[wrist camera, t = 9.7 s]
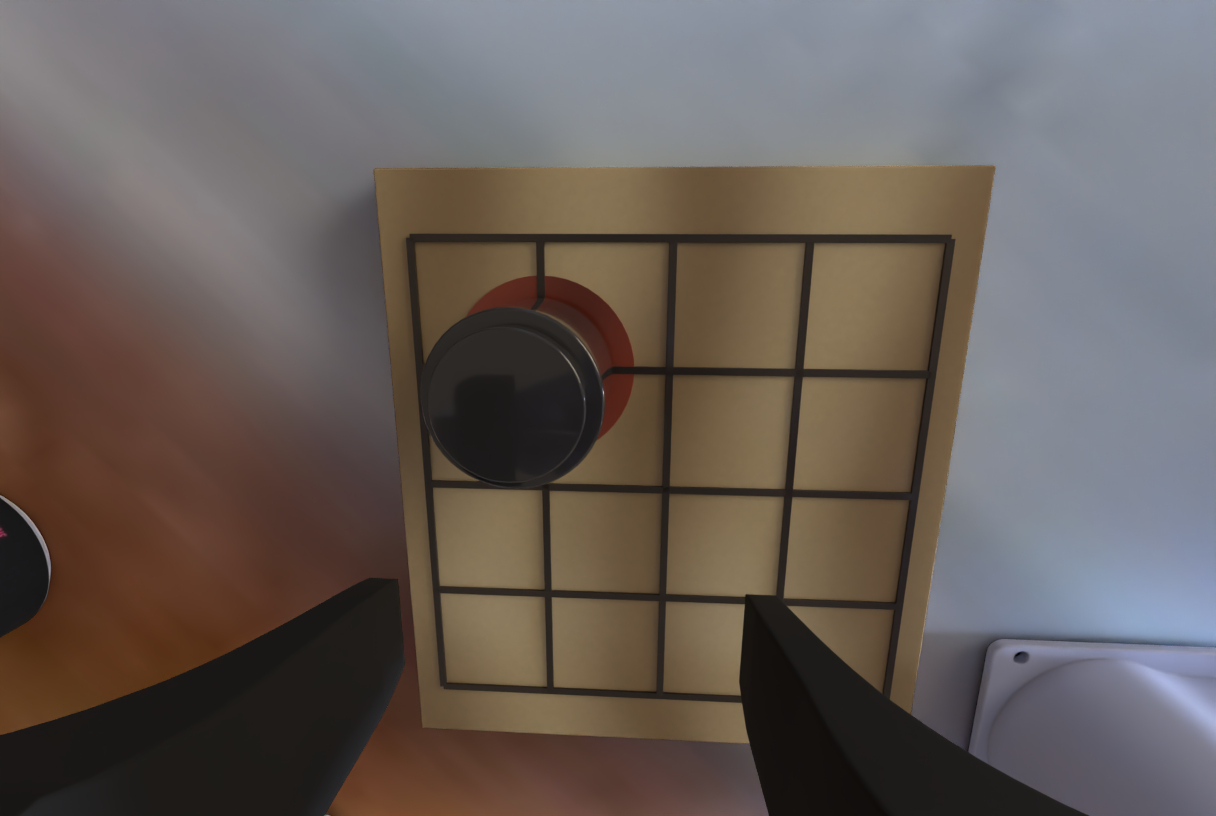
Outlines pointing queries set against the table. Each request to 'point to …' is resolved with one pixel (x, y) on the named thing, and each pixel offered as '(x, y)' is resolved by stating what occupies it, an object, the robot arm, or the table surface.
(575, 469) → the board
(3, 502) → the beverage can
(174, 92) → the table surface
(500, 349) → the black canister
